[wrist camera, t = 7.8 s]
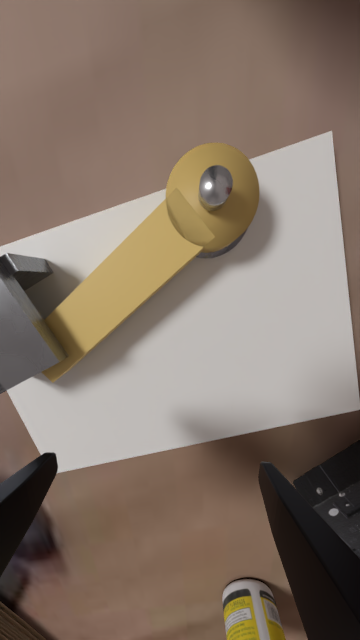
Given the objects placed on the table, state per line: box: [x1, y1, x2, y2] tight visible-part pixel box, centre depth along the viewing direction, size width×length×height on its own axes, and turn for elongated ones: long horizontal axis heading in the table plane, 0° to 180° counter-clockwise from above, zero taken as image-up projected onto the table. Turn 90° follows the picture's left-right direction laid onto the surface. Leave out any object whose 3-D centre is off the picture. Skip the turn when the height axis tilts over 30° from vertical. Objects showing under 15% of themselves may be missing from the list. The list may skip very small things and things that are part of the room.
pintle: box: [196, 165, 248, 258], centre depth 9 cm, size 5×5×3 cm
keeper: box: [0, 253, 69, 394], centre depth 12 cm, size 6×7×4 cm
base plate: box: [0, 131, 360, 473], centre depth 13 cm, size 18×26×1 cm
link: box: [42, 143, 260, 383], centre depth 11 cm, size 16×5×2 cm, turn 131°
